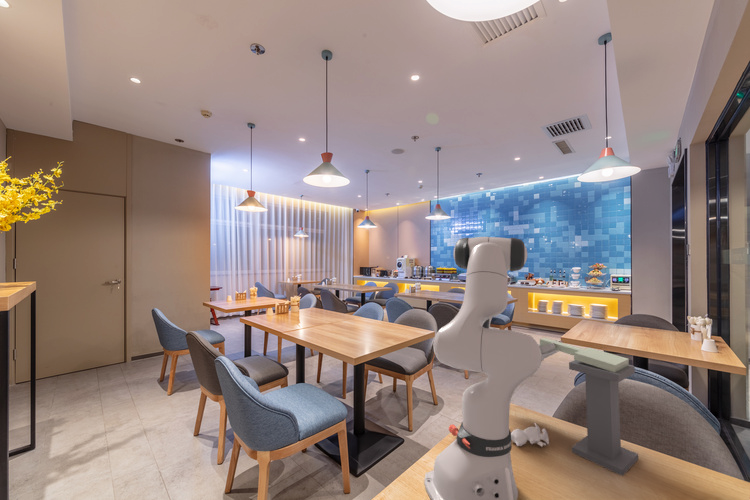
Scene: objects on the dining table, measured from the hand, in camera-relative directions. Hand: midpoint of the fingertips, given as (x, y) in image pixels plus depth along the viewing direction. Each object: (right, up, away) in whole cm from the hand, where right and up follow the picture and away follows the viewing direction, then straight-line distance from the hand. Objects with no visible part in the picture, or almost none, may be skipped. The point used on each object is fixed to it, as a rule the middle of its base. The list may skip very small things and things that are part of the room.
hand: (558, 344), depth 98 cm
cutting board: (+3, -2, -5) cm, 6 cm away
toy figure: (-12, -30, -4) cm, 32 cm away
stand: (+7, -29, -11) cm, 31 cm away
